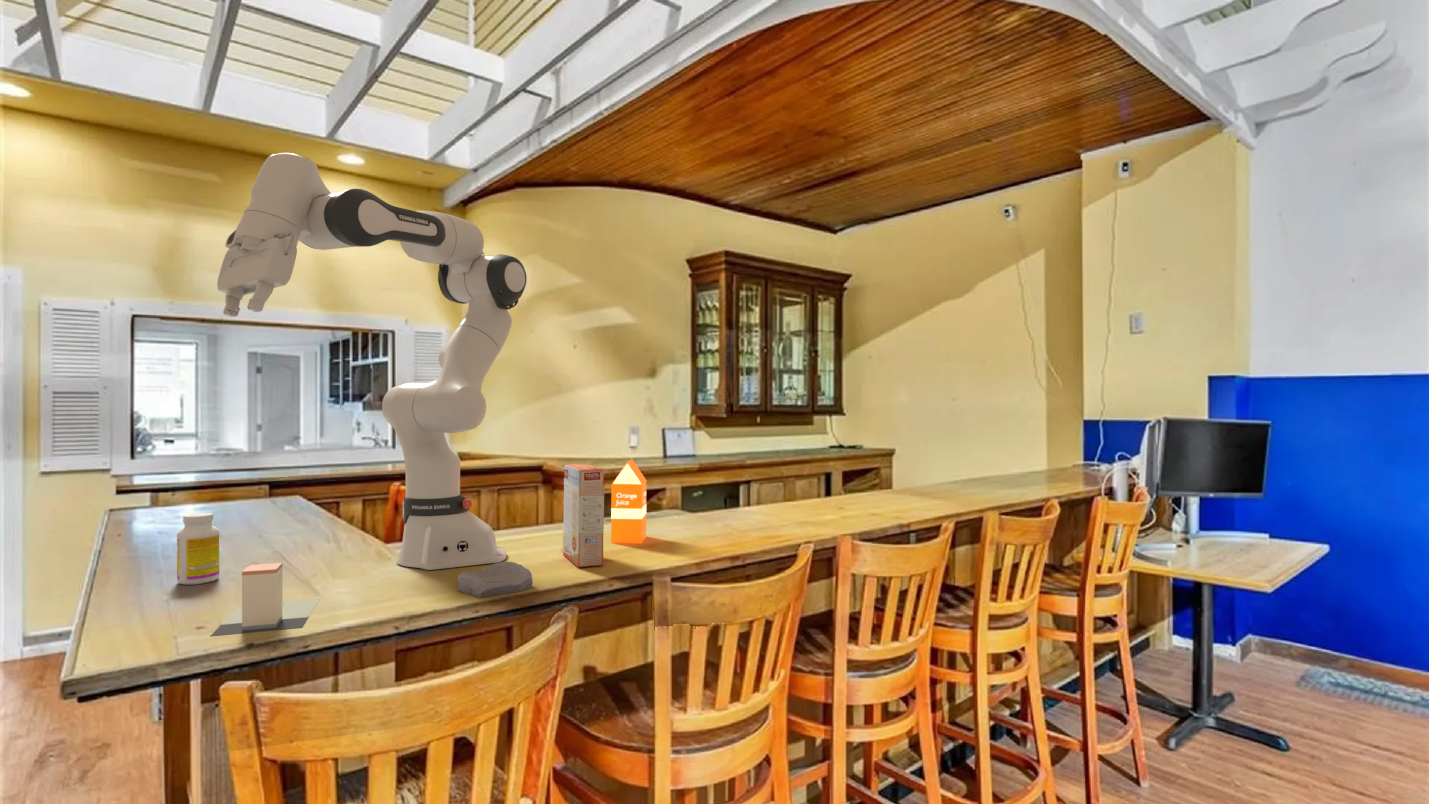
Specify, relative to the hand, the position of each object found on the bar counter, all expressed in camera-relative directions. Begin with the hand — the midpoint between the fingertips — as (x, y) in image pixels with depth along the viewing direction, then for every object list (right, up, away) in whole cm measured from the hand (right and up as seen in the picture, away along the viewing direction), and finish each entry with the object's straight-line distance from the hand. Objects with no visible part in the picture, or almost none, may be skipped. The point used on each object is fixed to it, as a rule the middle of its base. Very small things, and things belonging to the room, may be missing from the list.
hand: (241, 313), depth 120 cm
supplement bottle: (-20, -50, +18) cm, 57 cm away
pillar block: (+9, -50, -8) cm, 51 cm away
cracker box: (+50, -50, +38) cm, 80 cm away
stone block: (+38, -50, +15) cm, 65 cm away
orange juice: (+58, -50, +61) cm, 98 cm away
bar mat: (+7, -50, -4) cm, 51 cm away
